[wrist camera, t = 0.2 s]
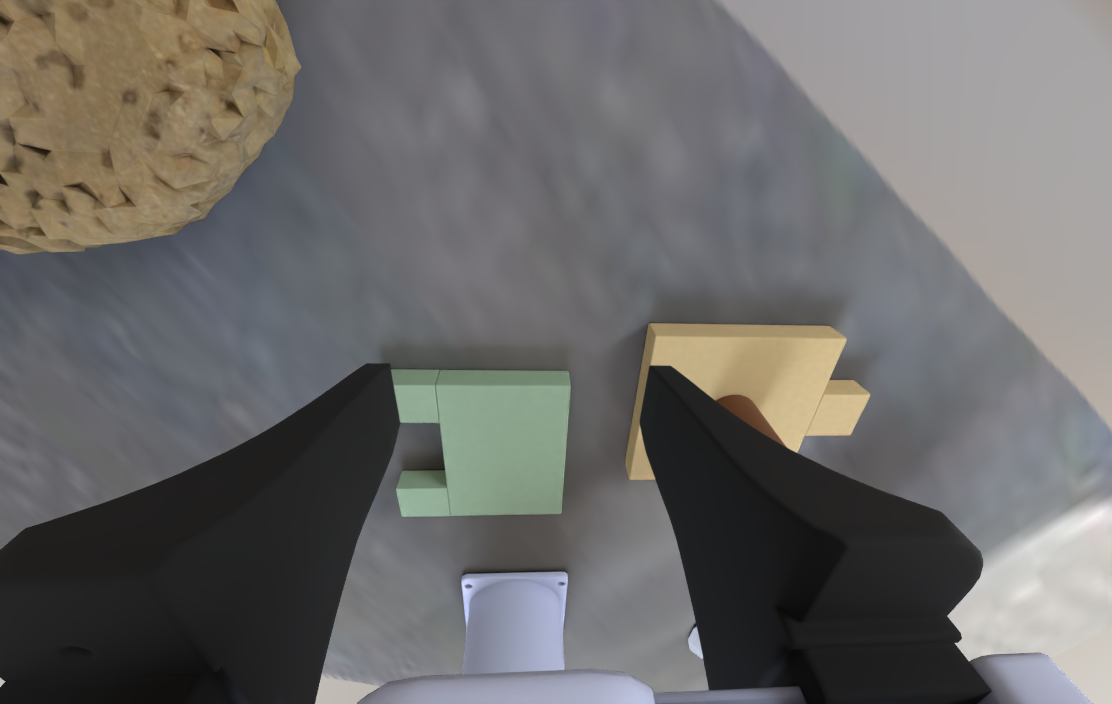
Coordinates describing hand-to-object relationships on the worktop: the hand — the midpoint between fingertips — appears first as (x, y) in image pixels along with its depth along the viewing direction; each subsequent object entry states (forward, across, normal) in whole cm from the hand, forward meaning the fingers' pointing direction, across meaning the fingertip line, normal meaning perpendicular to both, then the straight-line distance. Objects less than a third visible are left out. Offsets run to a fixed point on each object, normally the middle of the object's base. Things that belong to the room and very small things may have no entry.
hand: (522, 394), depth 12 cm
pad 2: (+10, -13, +8) cm, 18 cm away
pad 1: (+10, +2, +11) cm, 15 cm away
